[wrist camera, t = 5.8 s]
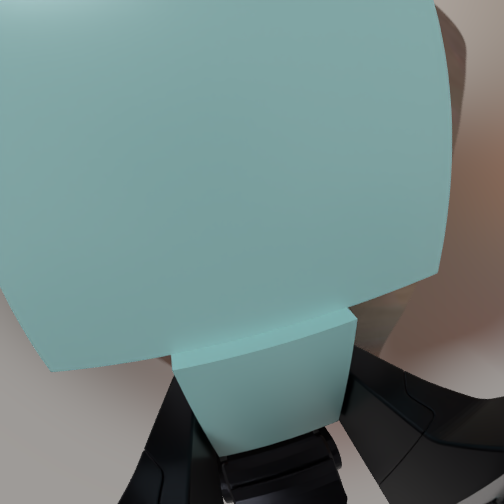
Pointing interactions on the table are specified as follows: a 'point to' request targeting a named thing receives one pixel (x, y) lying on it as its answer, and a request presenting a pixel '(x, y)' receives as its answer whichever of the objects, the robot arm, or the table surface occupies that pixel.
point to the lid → (220, 190)
